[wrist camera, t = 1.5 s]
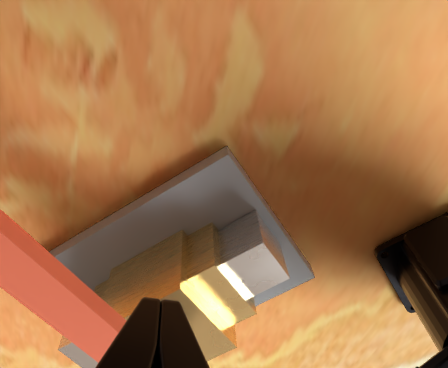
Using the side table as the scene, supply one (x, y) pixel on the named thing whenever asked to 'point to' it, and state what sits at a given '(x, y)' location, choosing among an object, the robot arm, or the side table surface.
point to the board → (180, 222)
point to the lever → (54, 292)
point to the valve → (198, 280)
